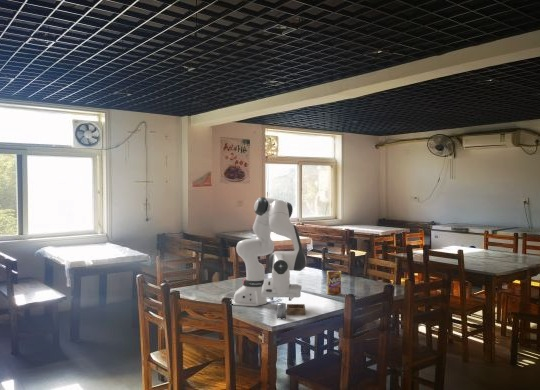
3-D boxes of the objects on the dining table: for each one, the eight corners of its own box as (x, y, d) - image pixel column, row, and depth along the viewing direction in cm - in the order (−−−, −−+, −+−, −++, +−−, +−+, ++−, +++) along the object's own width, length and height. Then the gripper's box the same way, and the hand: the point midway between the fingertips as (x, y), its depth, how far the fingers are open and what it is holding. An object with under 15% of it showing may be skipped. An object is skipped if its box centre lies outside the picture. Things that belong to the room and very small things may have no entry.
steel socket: (276, 319, 249) (276, 305, 249) (276, 316, 254) (277, 302, 254) (285, 319, 249) (285, 305, 249) (285, 316, 254) (285, 302, 254)
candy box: (327, 294, 306) (327, 271, 306) (326, 293, 310) (326, 270, 310) (341, 294, 306) (341, 271, 306) (339, 293, 311) (339, 270, 311)
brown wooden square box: (286, 314, 257) (286, 308, 257) (286, 310, 267) (286, 304, 267) (305, 315, 257) (305, 308, 257) (304, 310, 267) (304, 304, 267)
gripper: (301, 279, 237) (300, 294, 247) (261, 279, 238) (262, 294, 247) (301, 290, 232) (301, 305, 242) (260, 289, 233) (261, 304, 243)
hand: (281, 299), depth 245 cm, fingers open, 8 cm apart
